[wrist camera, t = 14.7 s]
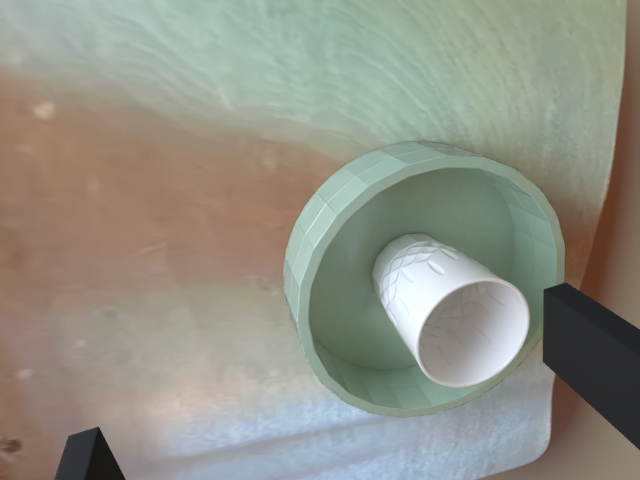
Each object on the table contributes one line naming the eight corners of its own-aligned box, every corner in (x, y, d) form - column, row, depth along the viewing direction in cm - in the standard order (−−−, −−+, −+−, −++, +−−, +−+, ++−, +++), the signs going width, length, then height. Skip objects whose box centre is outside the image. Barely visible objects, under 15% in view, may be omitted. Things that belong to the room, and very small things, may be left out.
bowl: (291, 134, 34) (309, 149, 28) (541, 147, 39) (597, 162, 33) (276, 379, 41) (288, 429, 35) (489, 363, 46) (529, 404, 40)
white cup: (471, 246, 40) (552, 303, 30) (423, 325, 41) (487, 400, 32) (394, 209, 37) (460, 259, 28) (346, 295, 38) (393, 369, 29)
